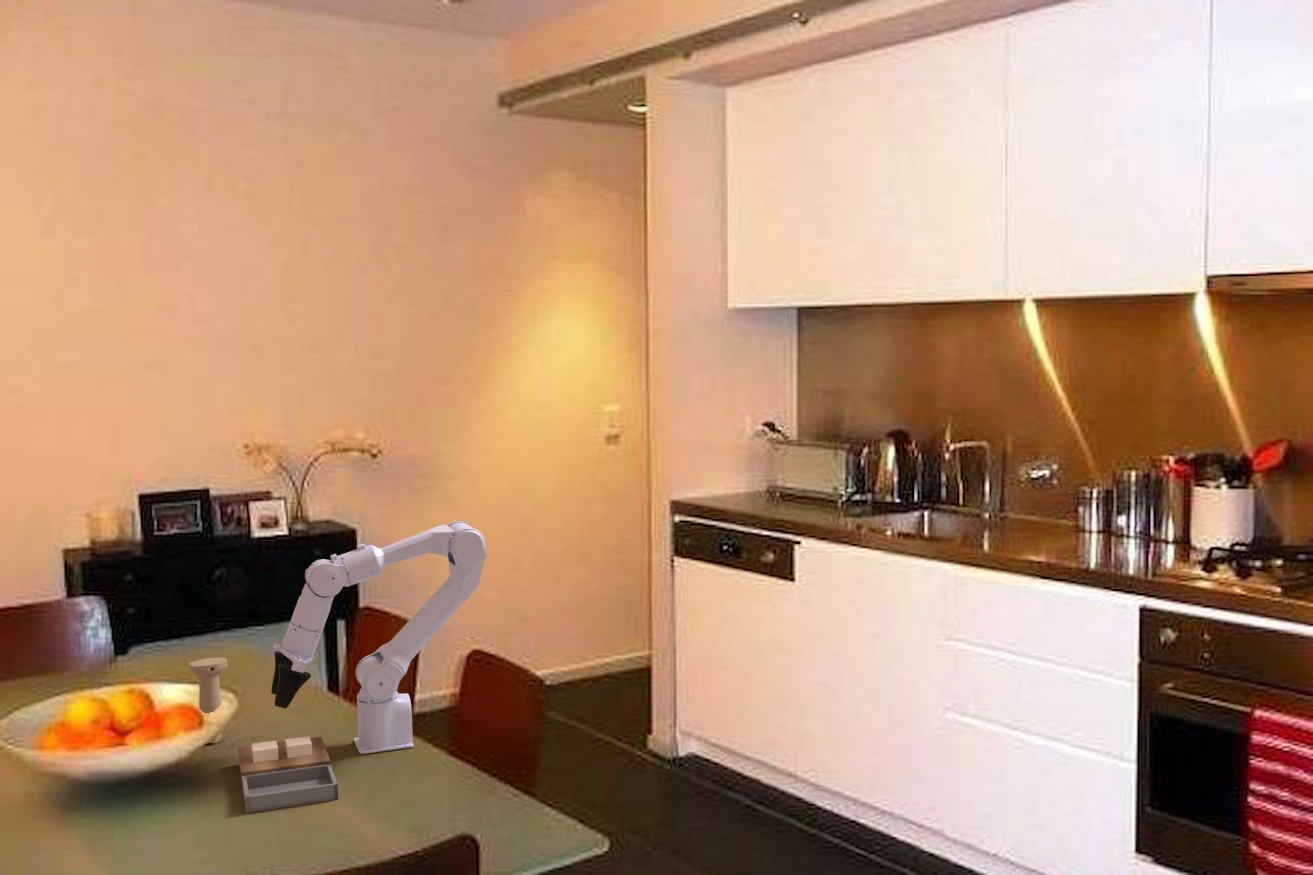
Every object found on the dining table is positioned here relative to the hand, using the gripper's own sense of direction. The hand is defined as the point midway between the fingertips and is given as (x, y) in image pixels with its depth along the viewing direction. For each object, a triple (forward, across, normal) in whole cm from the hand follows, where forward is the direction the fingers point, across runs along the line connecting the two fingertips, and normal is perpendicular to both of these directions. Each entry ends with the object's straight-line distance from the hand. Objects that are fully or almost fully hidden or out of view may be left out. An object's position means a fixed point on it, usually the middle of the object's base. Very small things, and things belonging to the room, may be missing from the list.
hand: (278, 700), depth 214 cm
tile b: (+8, +7, 0) cm, 11 cm away
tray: (+10, +18, +4) cm, 21 cm away
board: (+10, +6, +4) cm, 12 cm away
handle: (+14, -14, -6) cm, 21 cm away
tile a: (+6, +7, +5) cm, 10 cm away
